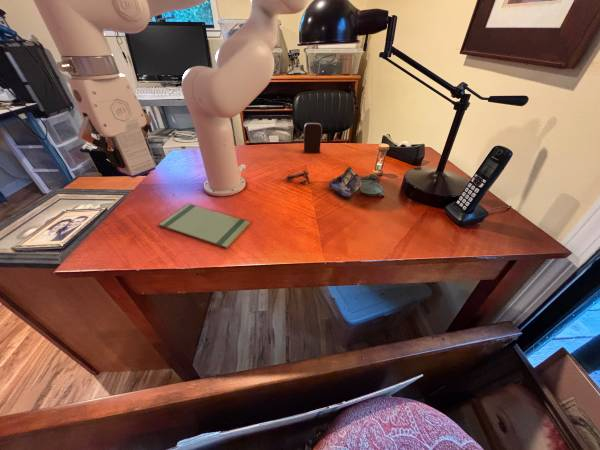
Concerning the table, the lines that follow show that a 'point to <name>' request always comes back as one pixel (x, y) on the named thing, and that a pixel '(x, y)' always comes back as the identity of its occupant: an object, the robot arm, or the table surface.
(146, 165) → the supplement box
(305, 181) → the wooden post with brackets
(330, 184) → the snack package
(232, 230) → the towel
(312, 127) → the battery charger
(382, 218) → the table surface
